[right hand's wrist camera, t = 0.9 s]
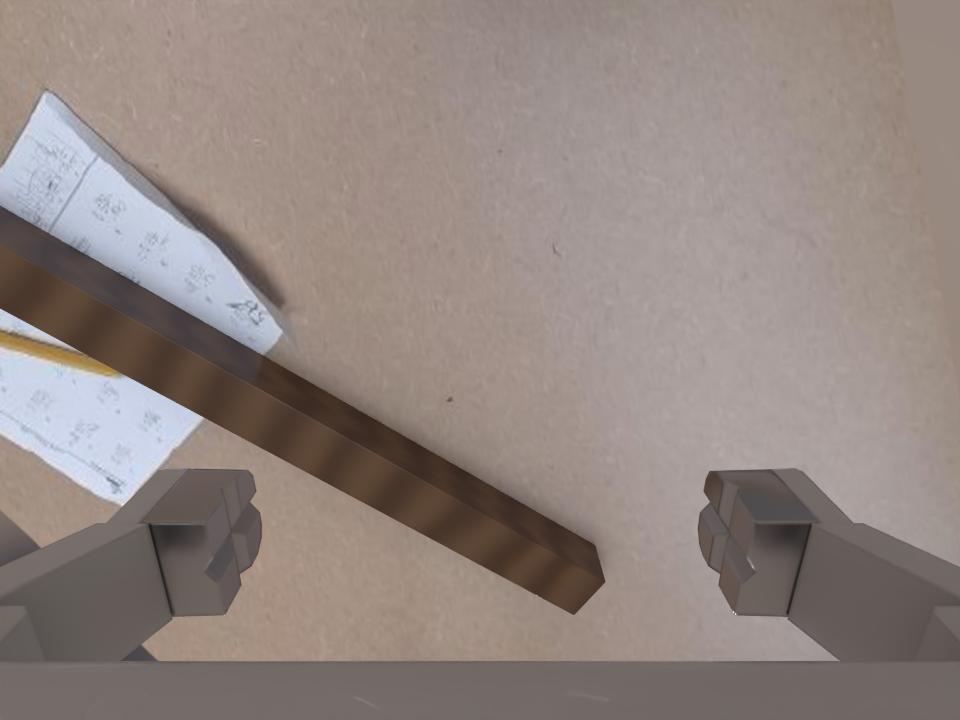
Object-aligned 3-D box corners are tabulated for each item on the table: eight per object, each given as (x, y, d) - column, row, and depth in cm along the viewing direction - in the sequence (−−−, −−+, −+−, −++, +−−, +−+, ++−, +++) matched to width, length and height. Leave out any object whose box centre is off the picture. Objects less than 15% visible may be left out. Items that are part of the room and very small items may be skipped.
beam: (-65, 230, 51) (-128, 240, 45) (-49, 178, 49) (-112, 182, 44) (566, 577, 65) (574, 615, 60) (595, 545, 63) (605, 581, 58)
